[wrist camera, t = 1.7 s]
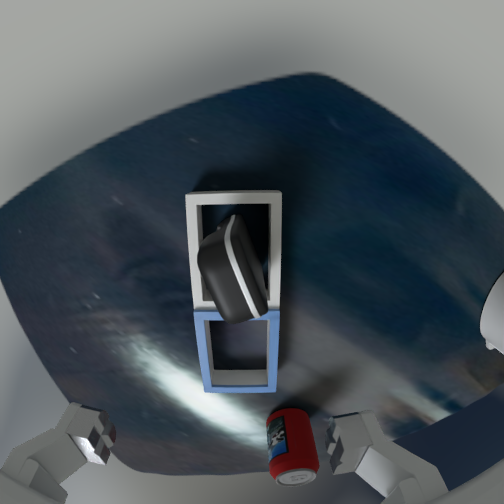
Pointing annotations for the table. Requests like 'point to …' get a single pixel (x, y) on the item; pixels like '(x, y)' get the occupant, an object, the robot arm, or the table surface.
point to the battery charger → (233, 272)
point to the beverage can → (291, 448)
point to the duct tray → (206, 308)
